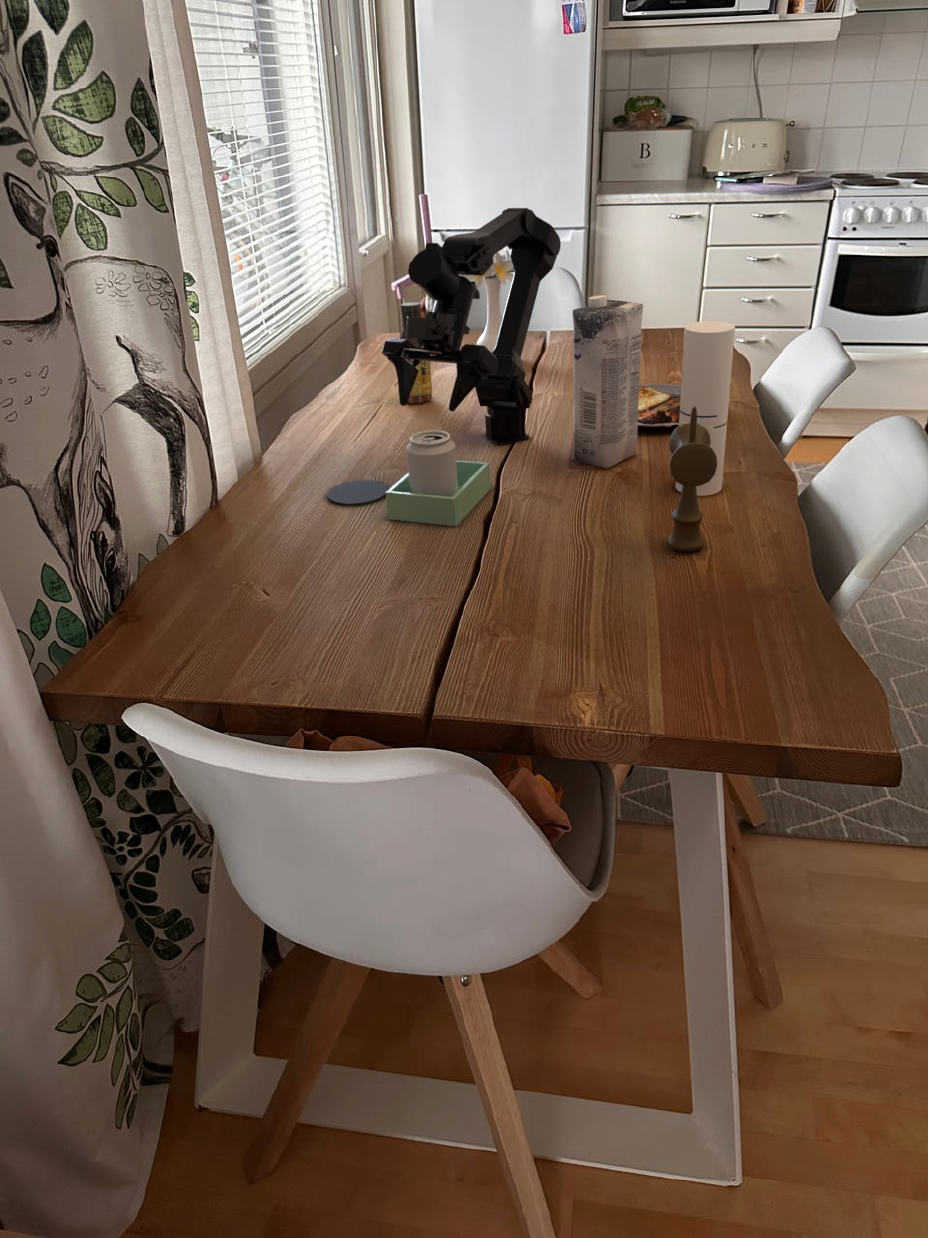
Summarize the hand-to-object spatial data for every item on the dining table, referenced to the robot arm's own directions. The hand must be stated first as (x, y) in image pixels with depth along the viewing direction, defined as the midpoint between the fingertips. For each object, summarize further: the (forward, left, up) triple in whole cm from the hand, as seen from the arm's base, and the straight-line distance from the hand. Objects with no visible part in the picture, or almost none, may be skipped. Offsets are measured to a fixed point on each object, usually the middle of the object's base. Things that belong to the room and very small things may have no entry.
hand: (426, 407), depth 147 cm
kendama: (-23, +39, -14) cm, 47 cm away
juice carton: (-31, +3, -14) cm, 34 cm away
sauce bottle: (-15, -48, -14) cm, 52 cm away
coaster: (+12, -4, -14) cm, 18 cm away
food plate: (-51, -13, -14) cm, 54 cm away
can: (+3, +9, -14) cm, 16 cm away
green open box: (+1, +7, -14) cm, 15 cm away
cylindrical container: (-37, +22, -14) cm, 45 cm away
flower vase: (-43, -68, -14) cm, 82 cm away
